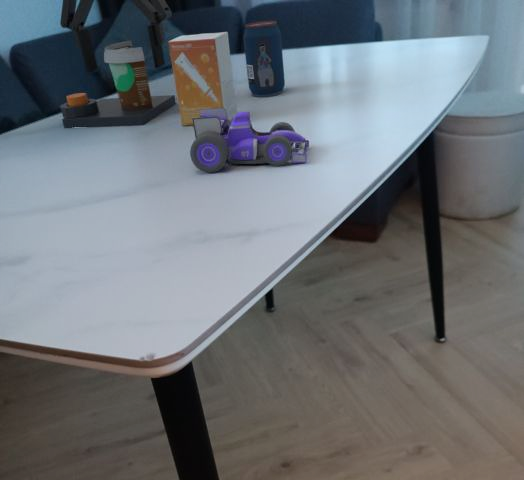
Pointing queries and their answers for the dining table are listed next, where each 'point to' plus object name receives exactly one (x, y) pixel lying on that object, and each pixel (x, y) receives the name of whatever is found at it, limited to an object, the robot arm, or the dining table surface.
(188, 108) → the small box
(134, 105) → the food container
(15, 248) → the dining table surface
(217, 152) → the toy race car
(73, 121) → the scale
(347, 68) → the dining table surface
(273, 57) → the soda can
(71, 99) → the button
